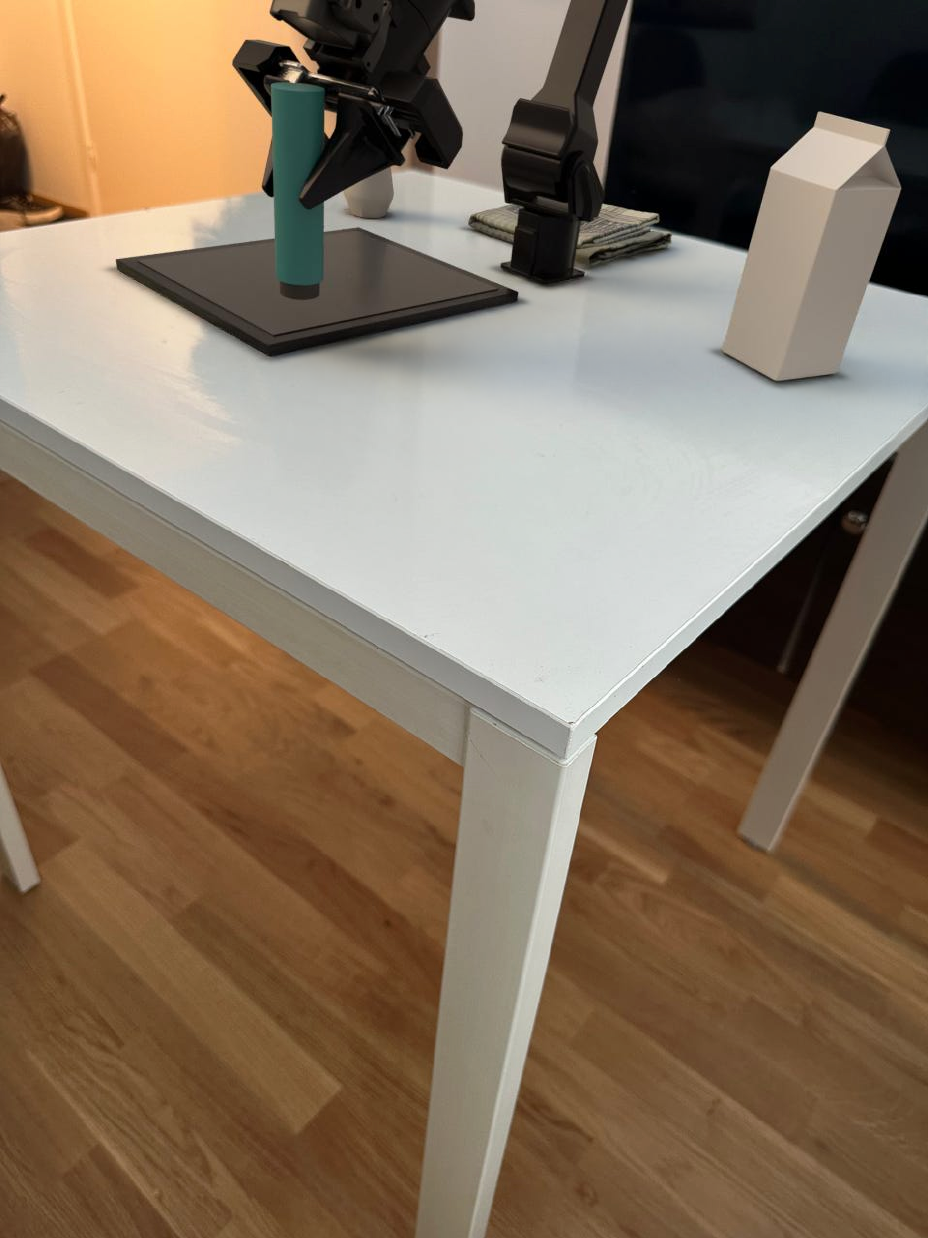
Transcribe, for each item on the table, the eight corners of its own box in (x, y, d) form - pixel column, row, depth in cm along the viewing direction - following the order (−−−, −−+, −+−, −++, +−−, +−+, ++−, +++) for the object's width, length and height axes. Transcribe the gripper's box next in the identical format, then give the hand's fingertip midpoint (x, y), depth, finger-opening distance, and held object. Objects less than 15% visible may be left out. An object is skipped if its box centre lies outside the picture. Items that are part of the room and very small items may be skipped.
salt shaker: (401, 214, 110) (407, 89, 102) (377, 222, 105) (382, 93, 98) (358, 204, 111) (361, 81, 104) (333, 212, 107) (335, 84, 99)
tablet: (358, 235, 100) (358, 225, 100) (517, 301, 88) (519, 290, 87) (116, 268, 84) (115, 257, 83) (269, 356, 71) (269, 343, 70)
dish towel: (461, 228, 107) (464, 198, 105) (554, 211, 119) (558, 184, 117) (591, 271, 98) (596, 240, 96) (678, 248, 109) (684, 219, 108)
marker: (324, 288, 73) (326, 85, 64) (321, 303, 70) (323, 93, 62) (278, 284, 72) (273, 80, 64) (273, 299, 70) (268, 87, 61)
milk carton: (775, 383, 77) (855, 128, 65) (720, 352, 82) (785, 110, 70) (836, 375, 80) (922, 130, 68) (779, 345, 85) (851, 112, 73)
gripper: (246, -99, 64) (127, 88, 63) (452, -74, 55) (316, 142, 55) (328, 35, 74) (225, 198, 73) (513, 73, 65) (399, 258, 65)
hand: (284, 198), depth 66 cm, fingers closed on marker, 3 cm apart
